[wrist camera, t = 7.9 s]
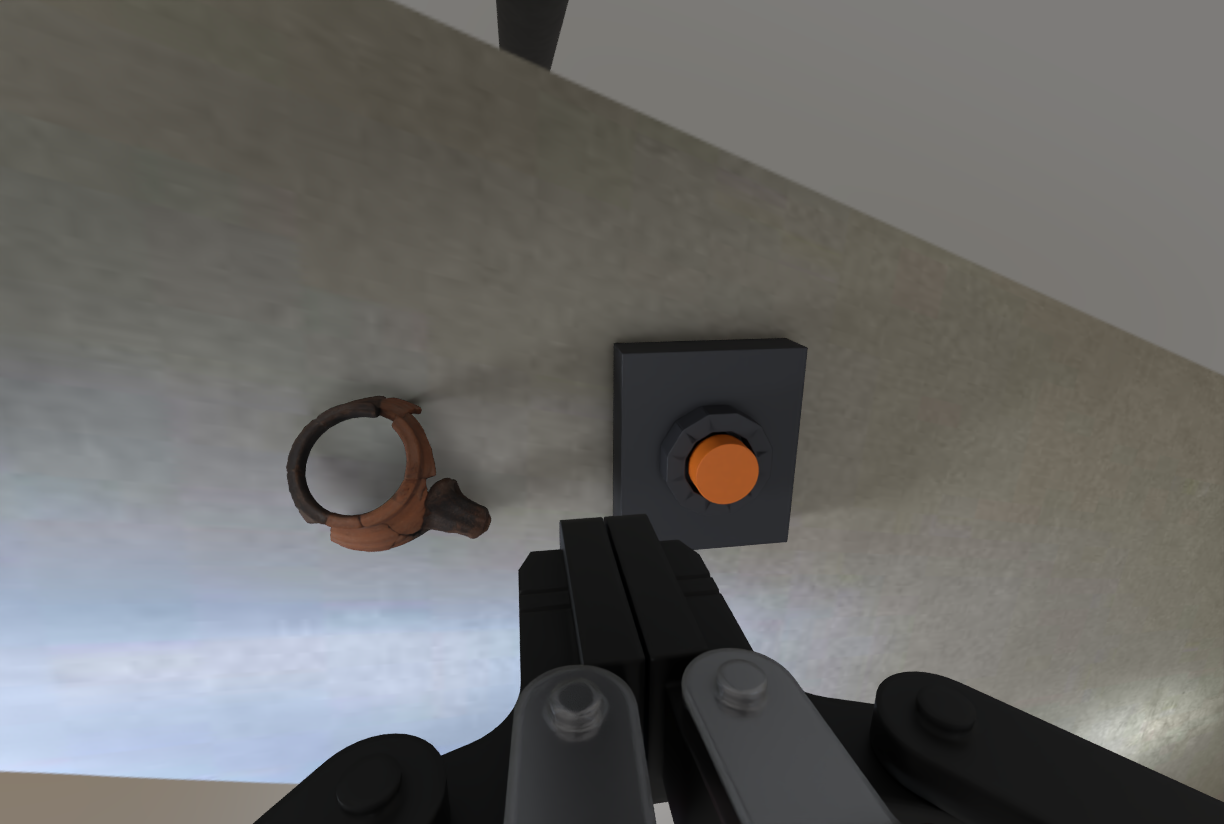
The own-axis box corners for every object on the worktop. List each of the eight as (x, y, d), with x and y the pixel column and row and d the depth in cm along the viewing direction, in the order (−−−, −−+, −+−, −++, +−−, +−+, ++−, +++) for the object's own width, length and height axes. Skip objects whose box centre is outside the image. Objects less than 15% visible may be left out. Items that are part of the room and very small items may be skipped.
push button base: (613, 343, 39) (627, 360, 34) (786, 338, 41) (822, 353, 36) (612, 532, 43) (625, 571, 39) (769, 520, 45) (799, 555, 40)
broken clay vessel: (310, 527, 40) (241, 524, 32) (362, 396, 42) (310, 362, 34) (481, 579, 40) (454, 589, 32) (525, 445, 42) (511, 423, 34)
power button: (689, 435, 37) (697, 445, 35) (750, 432, 37) (761, 441, 36) (686, 494, 38) (694, 506, 36) (746, 490, 39) (756, 502, 37)
